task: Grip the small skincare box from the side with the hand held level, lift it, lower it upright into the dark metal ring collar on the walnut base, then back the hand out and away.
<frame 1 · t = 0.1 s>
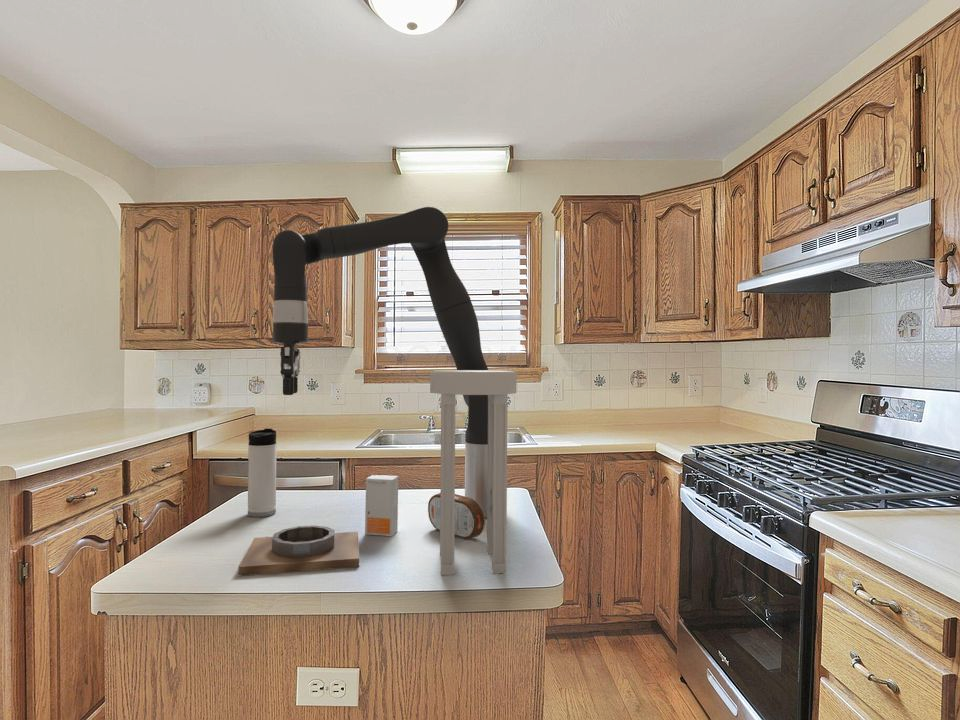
hand: (290, 394, 125), 29 cm above the countertop, tool pointing down, fingers open, 8 cm apart
ring collar: (304, 540, 104), on the walnut base, point 2 cm above the countertop
tin: (454, 535, 118), on the countertop
skincare box: (381, 534, 118), on the countertop
stool: (471, 563, 101), on the countertop
travel mug: (262, 514, 133), on the countertop
walnut base: (303, 555, 104), on the countertop
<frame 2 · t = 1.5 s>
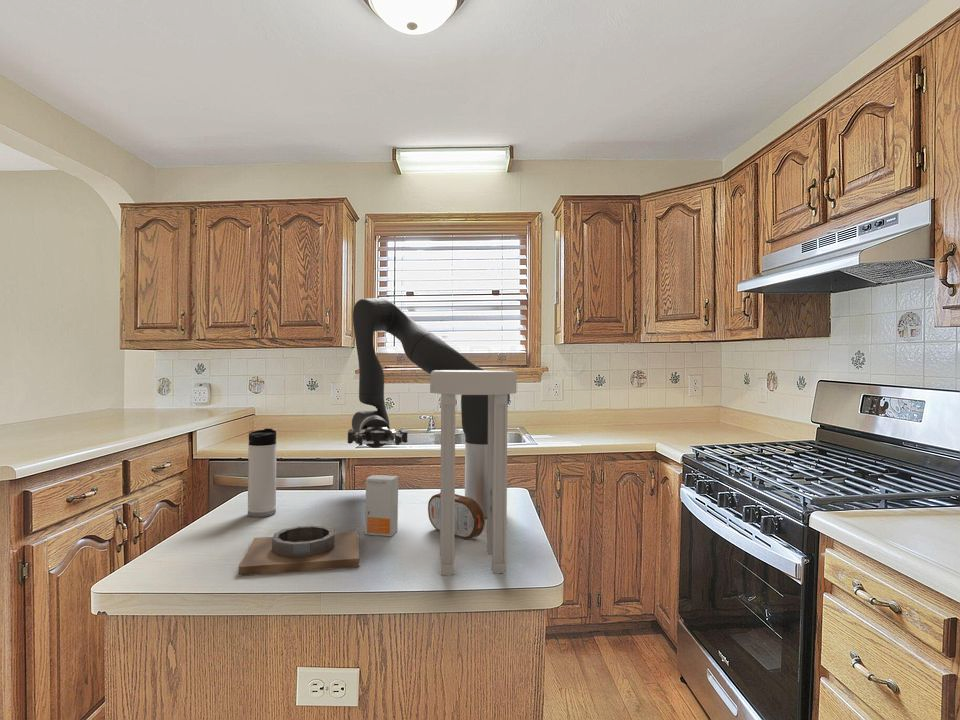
hand: (379, 440, 129), 18 cm above the countertop, tool horizontal, fingers open, 8 cm apart
nothing on the countertop moved.
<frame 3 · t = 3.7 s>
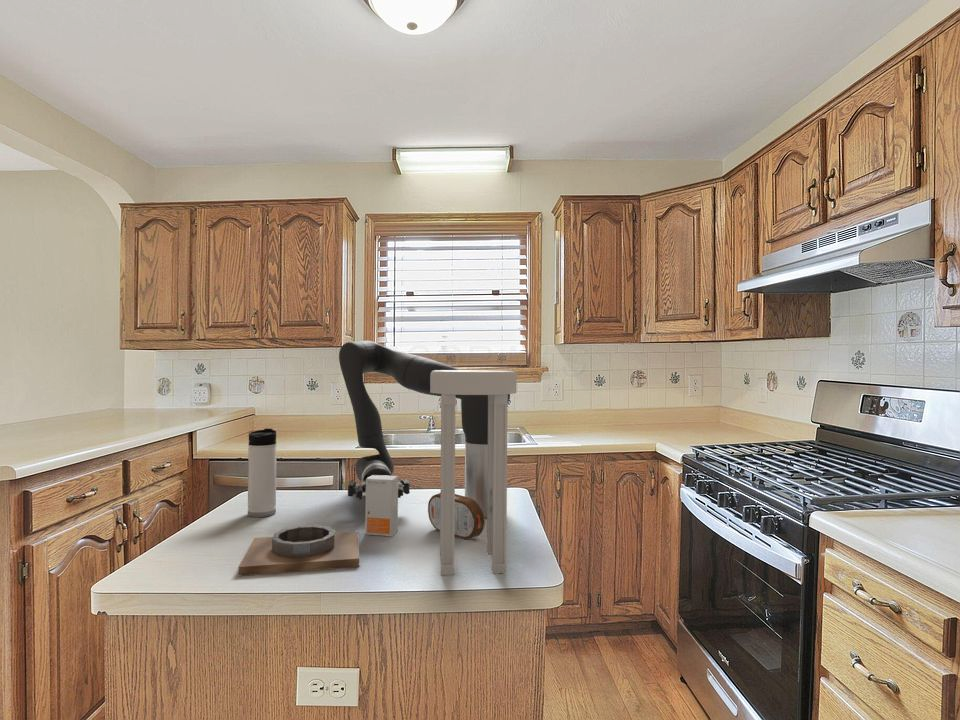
hand: (380, 494, 125), 7 cm above the countertop, tool horizontal, fingers open, 8 cm apart
nothing on the countertop moved.
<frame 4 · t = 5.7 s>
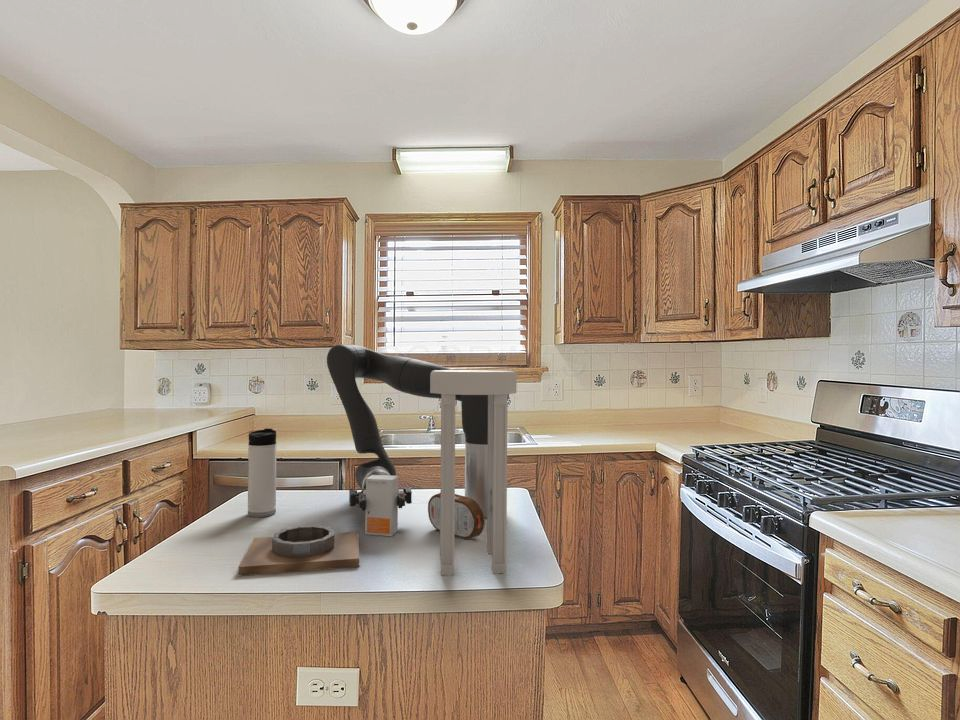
hand: (382, 504, 116), 7 cm above the countertop, tool horizontal, fingers closed on skincare box, 7 cm apart
skincare box: (381, 533, 118), on the countertop, touching gripper
everything else where it was.
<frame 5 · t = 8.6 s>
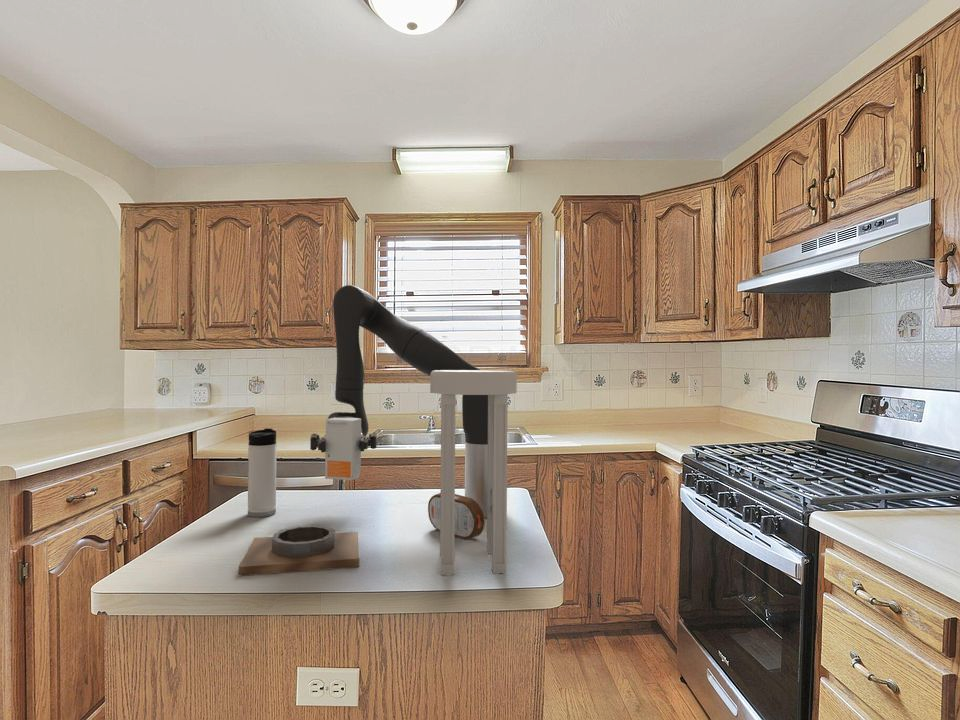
hand: (343, 446, 110), 20 cm above the countertop, tool horizontal, fingers closed on skincare box, 7 cm apart
skincare box: (343, 478, 112), point 13 cm above the countertop, touching gripper
everything else where it was.
when the fingers open (9 cm above the countertop, at t = 11.4 s): skincare box stays where it is, resting on walnut base.
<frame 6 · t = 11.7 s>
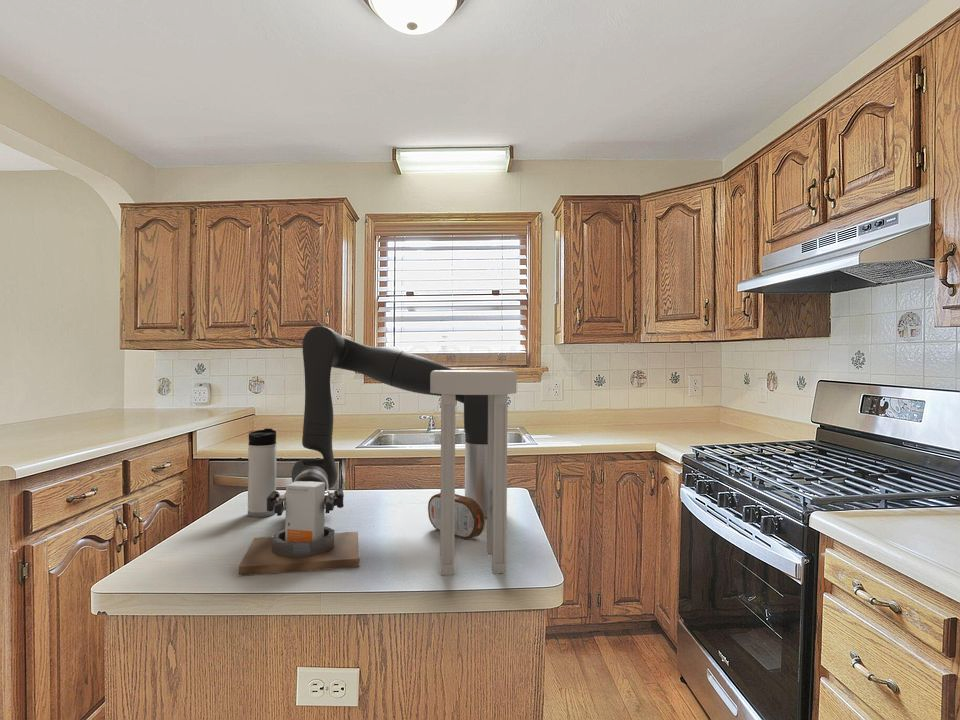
hand: (303, 509, 102), 9 cm above the countertop, tool horizontal, fingers open, 8 cm apart
skincare box: (304, 548, 104), point 1 cm above the countertop, touching walnut base
everything else where it was.
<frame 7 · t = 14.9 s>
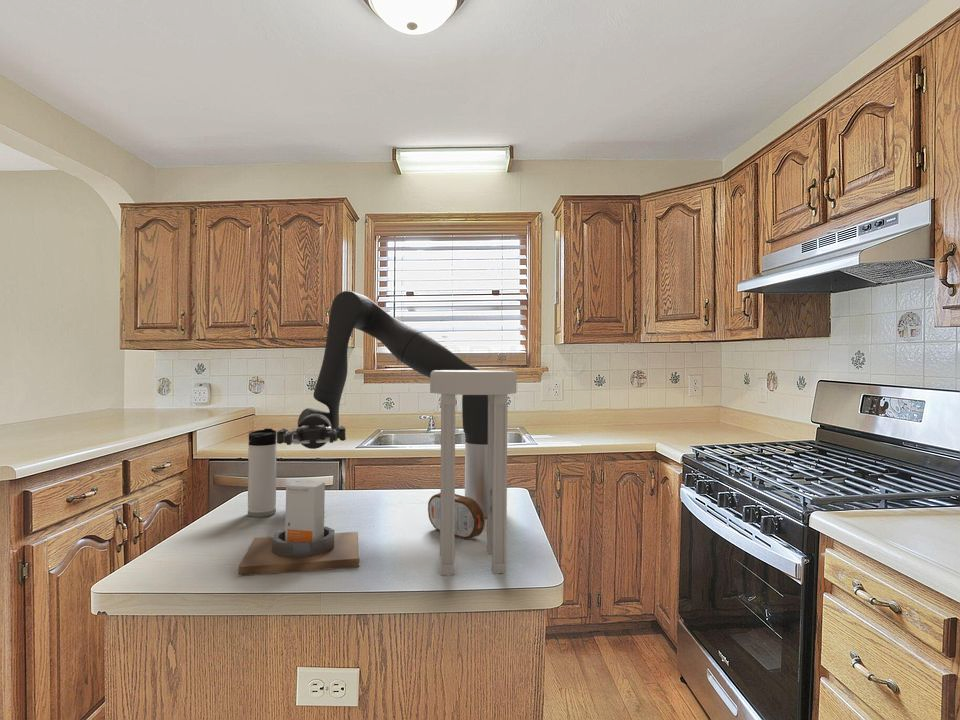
hand: (310, 438, 115), 20 cm above the countertop, tool horizontal, fingers open, 8 cm apart
nothing on the countertop moved.
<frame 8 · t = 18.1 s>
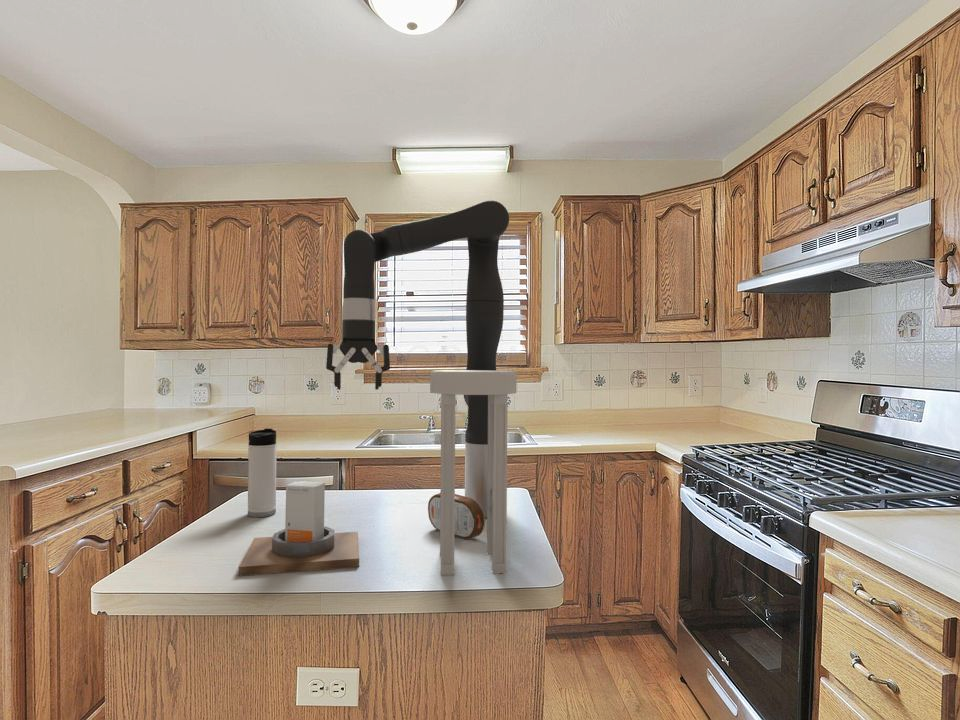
hand: (358, 389, 128), 30 cm above the countertop, tool pointing down, fingers open, 8 cm apart
nothing on the countertop moved.
at the end: skincare box 0.2 cm off-centre on the ring collar, point 1.3 cm above the ring collar's base; skincare box tilted 0°; the gripper is holding nothing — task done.
